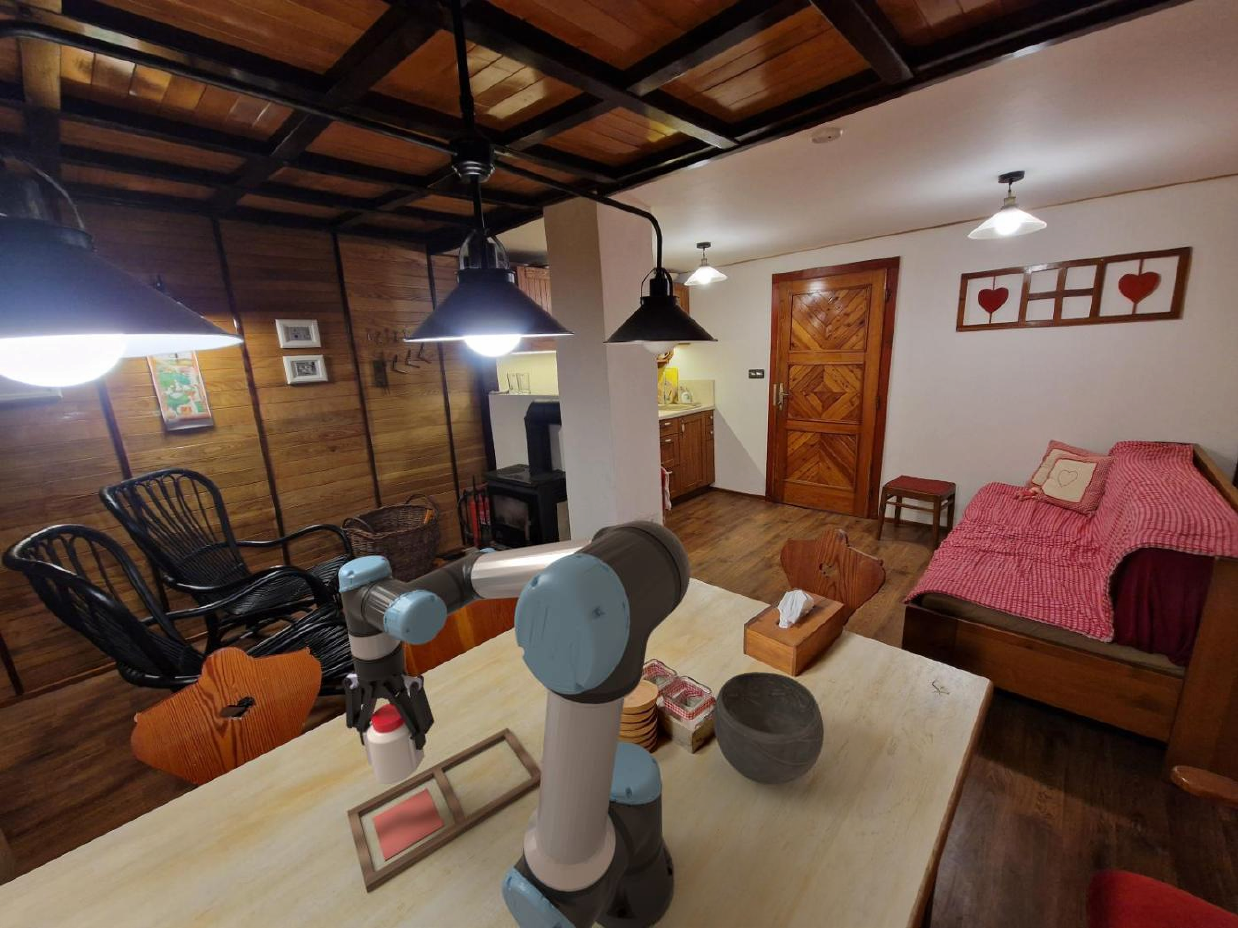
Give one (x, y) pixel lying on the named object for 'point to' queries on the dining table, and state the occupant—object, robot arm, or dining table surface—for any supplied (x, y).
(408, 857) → the divided wooden frame
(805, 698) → the bowl
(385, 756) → the pill bottle
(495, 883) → the dining table surface
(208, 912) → the dining table surface
